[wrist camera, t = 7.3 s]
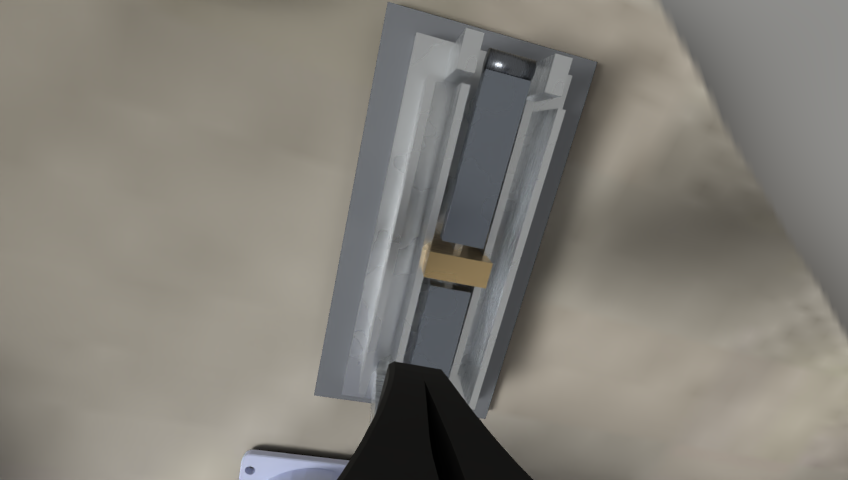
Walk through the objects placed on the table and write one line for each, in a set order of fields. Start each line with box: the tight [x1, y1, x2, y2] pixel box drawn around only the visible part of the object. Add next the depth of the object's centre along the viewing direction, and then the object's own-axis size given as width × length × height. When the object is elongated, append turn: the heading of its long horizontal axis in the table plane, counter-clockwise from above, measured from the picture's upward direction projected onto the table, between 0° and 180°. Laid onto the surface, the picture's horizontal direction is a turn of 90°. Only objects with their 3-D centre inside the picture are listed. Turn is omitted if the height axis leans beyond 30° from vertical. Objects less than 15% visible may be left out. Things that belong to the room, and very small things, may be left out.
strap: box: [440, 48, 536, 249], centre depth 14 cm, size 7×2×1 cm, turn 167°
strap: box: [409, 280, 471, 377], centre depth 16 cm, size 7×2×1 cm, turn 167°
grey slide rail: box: [342, 28, 573, 424], centre depth 16 cm, size 16×6×4 cm, turn 167°
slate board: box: [314, 2, 597, 419], centre depth 18 cm, size 18×9×1 cm, turn 167°
